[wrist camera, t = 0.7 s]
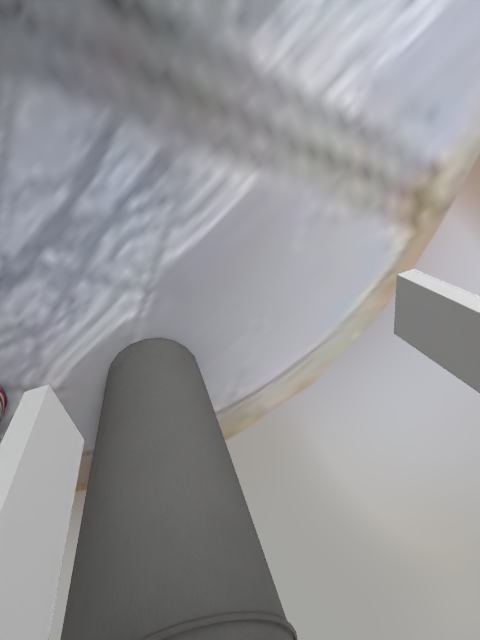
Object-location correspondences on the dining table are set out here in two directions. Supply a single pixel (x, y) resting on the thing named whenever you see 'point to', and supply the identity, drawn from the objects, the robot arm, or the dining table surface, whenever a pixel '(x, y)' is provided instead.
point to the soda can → (2, 402)
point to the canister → (166, 517)
